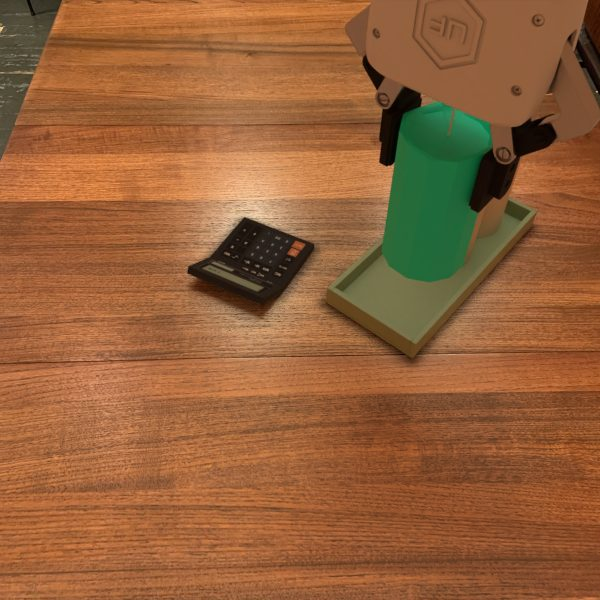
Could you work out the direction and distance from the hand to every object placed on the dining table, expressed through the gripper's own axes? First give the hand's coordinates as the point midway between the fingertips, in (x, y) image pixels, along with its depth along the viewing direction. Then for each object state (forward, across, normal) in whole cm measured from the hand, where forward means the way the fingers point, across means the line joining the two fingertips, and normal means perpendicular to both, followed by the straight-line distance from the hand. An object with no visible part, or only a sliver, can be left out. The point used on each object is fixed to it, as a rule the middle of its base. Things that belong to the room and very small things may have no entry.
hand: (440, 174), depth 42 cm
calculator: (+28, -22, +4) cm, 36 cm away
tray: (+28, -6, +18) cm, 34 cm away
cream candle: (+27, -6, +26) cm, 38 cm away
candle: (+7, 0, 0) cm, 7 cm away
